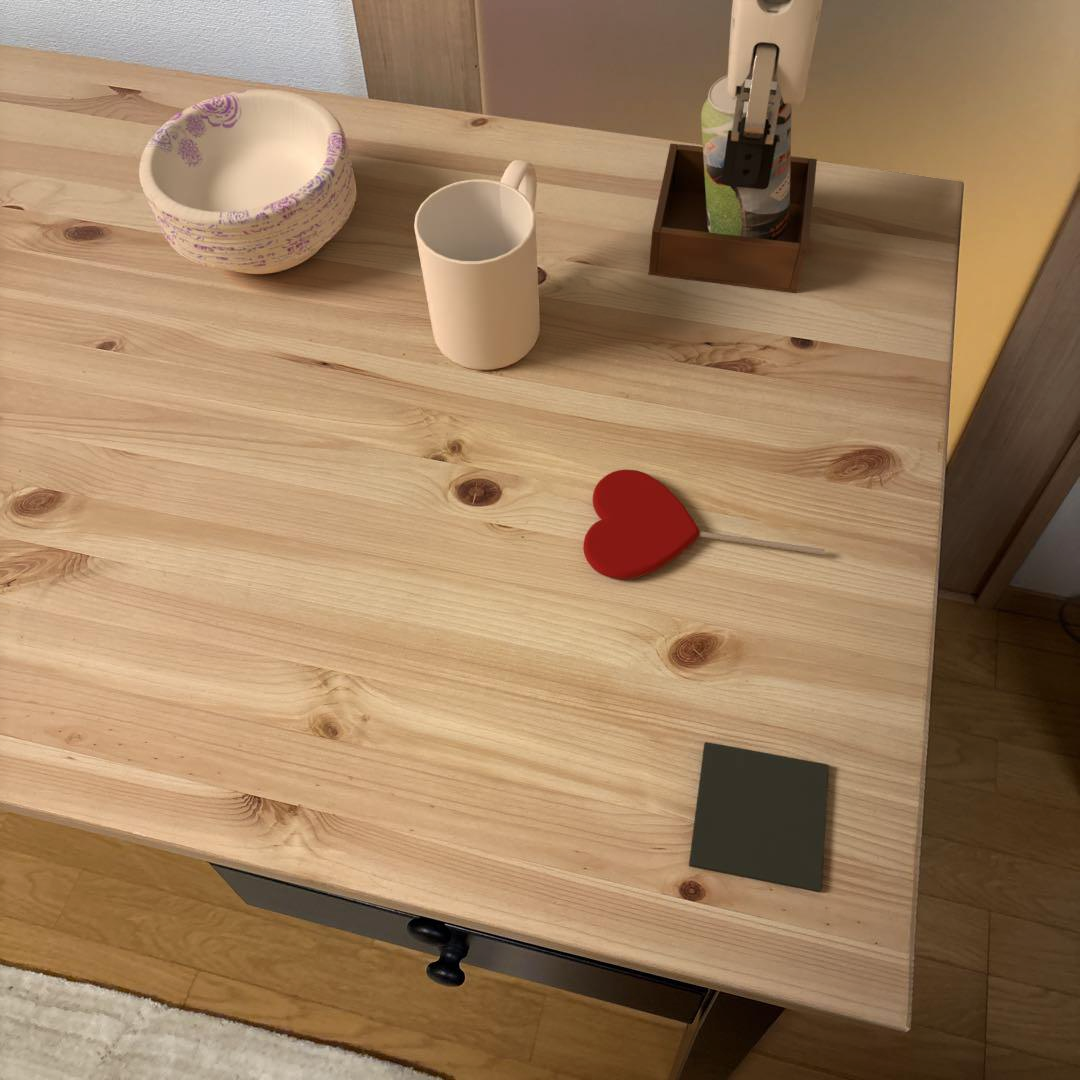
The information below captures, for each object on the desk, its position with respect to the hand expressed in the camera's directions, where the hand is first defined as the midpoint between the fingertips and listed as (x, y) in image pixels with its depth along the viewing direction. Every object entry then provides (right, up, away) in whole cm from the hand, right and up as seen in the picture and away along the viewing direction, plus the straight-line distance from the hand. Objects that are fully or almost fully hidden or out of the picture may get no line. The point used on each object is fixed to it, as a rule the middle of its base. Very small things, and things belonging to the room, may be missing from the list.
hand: (749, 150), depth 71 cm
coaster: (-3, -43, -15) cm, 45 cm away
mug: (-18, -10, +5) cm, 21 cm away
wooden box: (0, -4, +7) cm, 8 cm away
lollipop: (-4, -27, -6) cm, 28 cm away
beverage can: (0, -4, +6) cm, 7 cm away
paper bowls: (-36, -3, +10) cm, 38 cm away
